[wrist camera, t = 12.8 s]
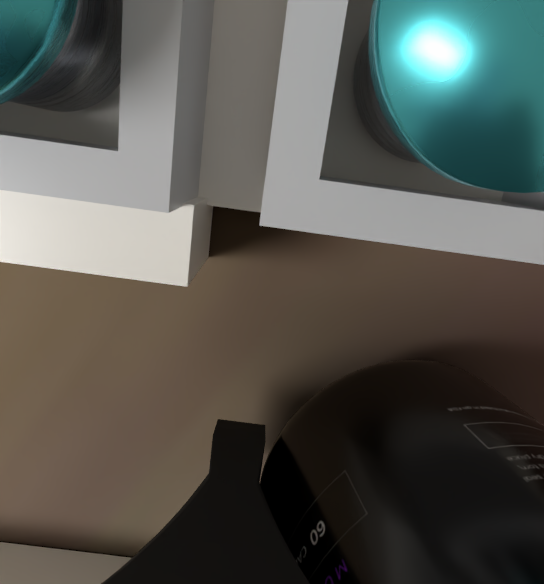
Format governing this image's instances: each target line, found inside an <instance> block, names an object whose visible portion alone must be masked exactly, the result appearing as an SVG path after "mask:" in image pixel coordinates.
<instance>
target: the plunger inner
mask: <svg viewBox="0 0 544 584" xmlns="http://www.w3.org/2000/svg"><path fill="white" fill-rule="evenodd" d="M122 12H123V0H0V104H3V103H5V102H8V101H9V102H14V103H18V104H23V105H28V106H32V107H37V108H42V109H46V110H51V111H59V112H70V111H78V110H82V109H86V108H88V107H91V106H93V105H95V104H97V103H99V102H101V101H102V100H104V99H105V98H106V97H107V96H109V95H110V94H111V93H112V92H113V91H114V90H115V89H116V88H117V87H118V85H119V84H120V75H121V44H122Z"/></svg>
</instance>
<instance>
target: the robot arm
mask: <svg viewBox="0 0 544 584" xmlns="http://www.w3.org/2000/svg"><path fill="white" fill-rule="evenodd" d="M264 447H265V425H260V424H252V423H244V422H236V421H228V420H220V419H218V421H217V424H216V427H215V430H214V434H213V441H212V450H211V459H210V469H209V474H208V475H207V477H206V478H205V479H204V481H203V482H202V483H201V484H200V486H199V487H198V488H197V490H196V491H195V492H194V493H193V495H192V496H191V497H190V499H189V500H188V501H187V502H186V503H185V505H184V506H183V507H182V508H181V509H180V510H179V512H178V513H177V514H176V515H175V516H174V517H173V518H172V519H171V520H170V521H169V522H168V523H167V525H166V526H165V527H164V528H163V529H162V530H161V531H160V532H159V533H158V534H157V535H156V536H155V537H154V538H153V539H152V540H151V541H150V542H148V543H147V544H146V545H145V546H144V547H143V548H142V549H141V550H140V551H139V552H138V553H137V554H136V555H135V556H134V557H133V558H131V559H130V560H129V561H128V562H127V563H126V564H125V565H123V566H122V567H121V568H120V569H119V570H118V571H116V572H115V573H114V574H113V575H111V576H110V577H109V578H108V579H106V580H105V581H104V582H103V583H101V584H310V583H309V581H308V580H307V578H306V577H305V575H304V574H303V572H302V570H301V569H300V567H299V565H298V564H297V562H296V560H295V558H294V557H293V555H292V553H291V551H290V550H289V548H288V546H287V544H286V542H285V540H284V538H283V536H282V534H281V532H280V530H279V528H278V526H277V524H276V522H275V520H274V518H273V516H272V513H271V511H270V509H269V506H268V504H267V501H266V499H265V497H264V494H263V491H262V489H261V486H260V483H259V480H260V474H261V467H262V460H263V453H264Z"/></svg>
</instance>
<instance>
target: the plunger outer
mask: <svg viewBox="0 0 544 584" xmlns="http://www.w3.org/2000/svg"><path fill="white" fill-rule="evenodd" d="M353 90H354V98H355V103H356V107H357V111H358V114H359V116H360V119H361V121H362V123H363V125H364V127H365V128H366V130H367V132H368V133H369V134H370V135H371V137H372V138H373V139H374V140H375V141H376V142H377V143H378V144H379V145H380V146H381V147H382V148H384V149H385V150H386V151H388V152H389V153H391V154H393V155H395V156H396V157H399V158H401V159H404V160H407V161H411V162H416V163H422V164H424V165H425V166H426V167H428V168H429V169H430V170H432V171H434V172H436V173H437V174H439V175H441V176H443V177H445V178H447V179H449V180H452V181H455V182H458V183H460V184H463V185H467V186H472V187H477V188H482V189H489V190H496V191H503V192H516V193H533V192H544V0H373V5H372V9H371V16H370V25H369V29H368V31H367V33H366V35H365V37H364V39H363V41H362V43H361V45H360V48H359V51H358V54H357V58H356V62H355V67H354V76H353Z"/></svg>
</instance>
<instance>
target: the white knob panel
mask: <svg viewBox="0 0 544 584" xmlns="http://www.w3.org/2000/svg"><path fill="white" fill-rule="evenodd" d="M372 5H373V0H123V12H122V44H121V75H120V84H119V85H118V87H117V88H116V89H115V90H114V91H113V92H112V93H111V94H110V95H109V96H107V97H106V98H105V99H104V100H102V101H101V102H99V103H97V104H95V105H93V106H91V107H88V108H86V109H82V110H78V111H70V112H59V111H51V110H46V109H42V108H37V107H32V106H28V105H23V104H18V103H14V102H9V101H8V102H5V103H3V104H0V262H7V263H14V264H22V265H29V266H37V267H44V268H51V269H59V270H66V271H74V272H81V273H89V274H96V275H104V276H111V277H119V278H126V279H133V280H141V281H148V282H156V283H163V284H171V285H178V286H186V287H187V286H188V285H189V284H190V282H191V281H192V280H193V278H194V277H195V275H196V274H197V273H198V271H199V270H200V269H201V267H202V266H203V264H204V263H205V262H206V260H207V259H208V256H209V246H210V235H211V225H212V214H213V206H217V207H224V208H232V209H239V210H246V211H253V212H261V216H260V224H259V226H267V227H274V228H281V229H288V230H296V231H303V232H310V233H317V234H325V235H332V236H339V237H346V238H354V239H361V240H368V241H375V242H383V243H390V244H397V245H404V246H412V247H419V248H426V249H433V250H441V251H448V252H455V253H462V254H470V255H477V256H484V257H491V258H499V259H506V260H513V261H520V262H528V263H535V264H542V265H544V192H533V193H516V192H503V191H496V190H489V189H482V188H477V187H472V186H467V185H463V184H460V183H458V182H455V181H452V180H449V179H447V178H445V177H443V176H441V175H439V174H437V173H436V172H434V171H432V170H430V169H429V168H428V167H426V166H425V165H424V164H422V163H416V162H411V161H407V160H404V159H401V158H399V157H396V156H395V155H393V154H391V153H389V152H388V151H386V150H385V149H384V148H382V147H381V146H380V145H379V144H378V143H377V142H376V141H375V140H374V139H373V138H372V137H371V135H370V134H369V133H368V132H367V130H366V128H365V127H364V125H363V123H362V121H361V119H360V116H359V114H358V111H357V107H356V103H355V98H354V90H353V76H354V67H355V62H356V58H357V54H358V51H359V48H360V45H361V43H362V41H363V39H364V37H365V35H366V33H367V31H368V29H369V25H370V16H371V9H372ZM130 559H131V558H130V557H121V556H113V555H105V554H96V553H88V552H79V551H71V550H63V549H54V548H46V547H38V546H29V545H21V544H13V543H4V542H0V584H101V583H103V582H104V581H105V580H106V579H108V578H109V577H110V576H111V575H113V574H114V573H115V572H116V571H118V570H119V569H120V568H121V567H122V566H123V565H125V564H126V563H127V562H128V561H129V560H130Z"/></svg>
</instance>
